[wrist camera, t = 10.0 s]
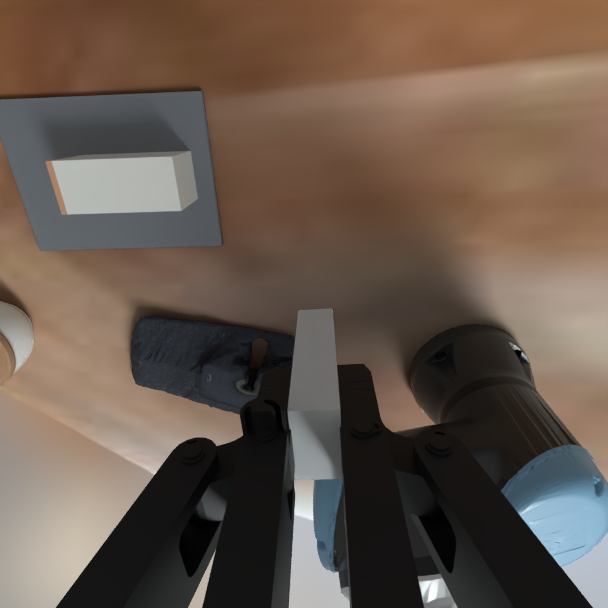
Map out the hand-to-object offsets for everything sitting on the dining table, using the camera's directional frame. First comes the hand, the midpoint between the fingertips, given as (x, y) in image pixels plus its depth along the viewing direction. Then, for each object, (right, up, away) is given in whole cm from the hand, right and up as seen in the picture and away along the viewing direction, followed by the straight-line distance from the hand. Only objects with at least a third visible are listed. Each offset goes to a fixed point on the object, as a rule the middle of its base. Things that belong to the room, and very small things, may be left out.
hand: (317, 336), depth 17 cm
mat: (-21, +16, +26) cm, 37 cm away
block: (-25, +14, +23) cm, 36 cm away
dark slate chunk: (-13, -6, +37) cm, 40 cm away
